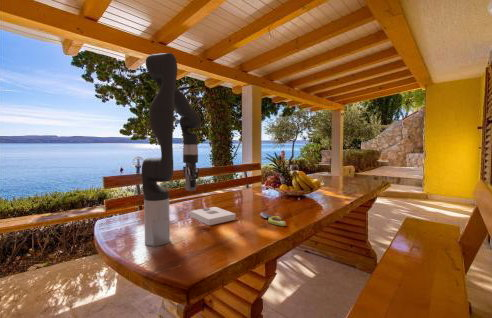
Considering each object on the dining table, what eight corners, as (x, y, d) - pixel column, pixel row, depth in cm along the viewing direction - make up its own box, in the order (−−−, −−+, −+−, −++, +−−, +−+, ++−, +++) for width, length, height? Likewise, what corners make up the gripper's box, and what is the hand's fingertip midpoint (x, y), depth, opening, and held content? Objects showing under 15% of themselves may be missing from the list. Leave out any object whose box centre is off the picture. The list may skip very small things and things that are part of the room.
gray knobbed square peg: (196, 190, 122) (196, 171, 121) (189, 191, 119) (188, 172, 119) (192, 189, 125) (192, 171, 125) (185, 189, 122) (185, 171, 122)
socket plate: (235, 219, 124) (235, 212, 124) (208, 225, 114) (208, 218, 114) (215, 211, 139) (215, 205, 139) (190, 216, 129) (190, 209, 129)
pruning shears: (254, 215, 134) (277, 228, 111) (254, 210, 134) (277, 222, 111) (266, 213, 137) (290, 226, 114) (266, 209, 137) (291, 220, 114)
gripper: (177, 153, 124) (178, 185, 125) (190, 154, 113) (190, 189, 114) (190, 153, 129) (191, 184, 130) (203, 153, 118) (204, 187, 119)
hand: (190, 186), depth 122 cm, fingers closed on gray knobbed square peg, 4 cm apart
